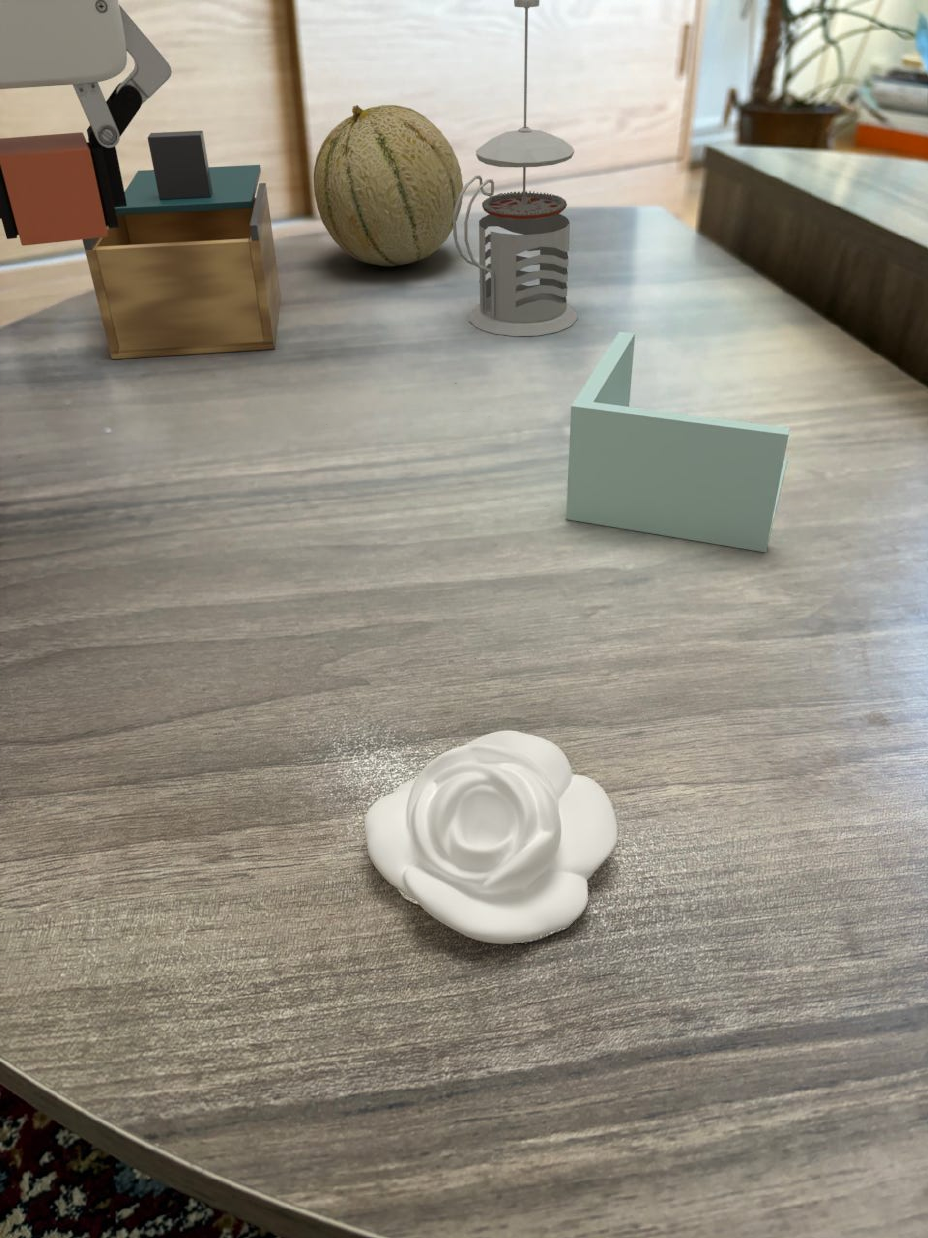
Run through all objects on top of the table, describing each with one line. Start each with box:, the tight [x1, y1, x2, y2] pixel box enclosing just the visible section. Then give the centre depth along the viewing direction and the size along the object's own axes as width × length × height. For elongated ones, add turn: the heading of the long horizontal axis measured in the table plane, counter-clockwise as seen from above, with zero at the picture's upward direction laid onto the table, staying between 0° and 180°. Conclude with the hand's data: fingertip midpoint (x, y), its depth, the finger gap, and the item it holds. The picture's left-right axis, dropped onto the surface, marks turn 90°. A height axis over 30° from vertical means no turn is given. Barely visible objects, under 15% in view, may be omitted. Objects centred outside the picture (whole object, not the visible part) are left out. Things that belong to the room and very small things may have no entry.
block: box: [0, 132, 108, 246], centre depth 53 cm, size 4×4×4 cm
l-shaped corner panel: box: [565, 331, 791, 553], centre depth 62 cm, size 12×12×8 cm
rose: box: [364, 729, 618, 945], centre depth 39 cm, size 10×4×10 cm
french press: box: [452, 0, 578, 337], centre depth 82 cm, size 10×12×25 cm
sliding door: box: [115, 130, 262, 215], centre depth 89 cm, size 12×14×6 cm
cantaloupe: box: [313, 104, 464, 267], centre depth 98 cm, size 15×15×15 cm
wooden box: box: [81, 182, 282, 360], centre depth 86 cm, size 14×14×10 cm
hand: (61, 222), depth 54 cm, fingers closed on block, 4 cm apart
